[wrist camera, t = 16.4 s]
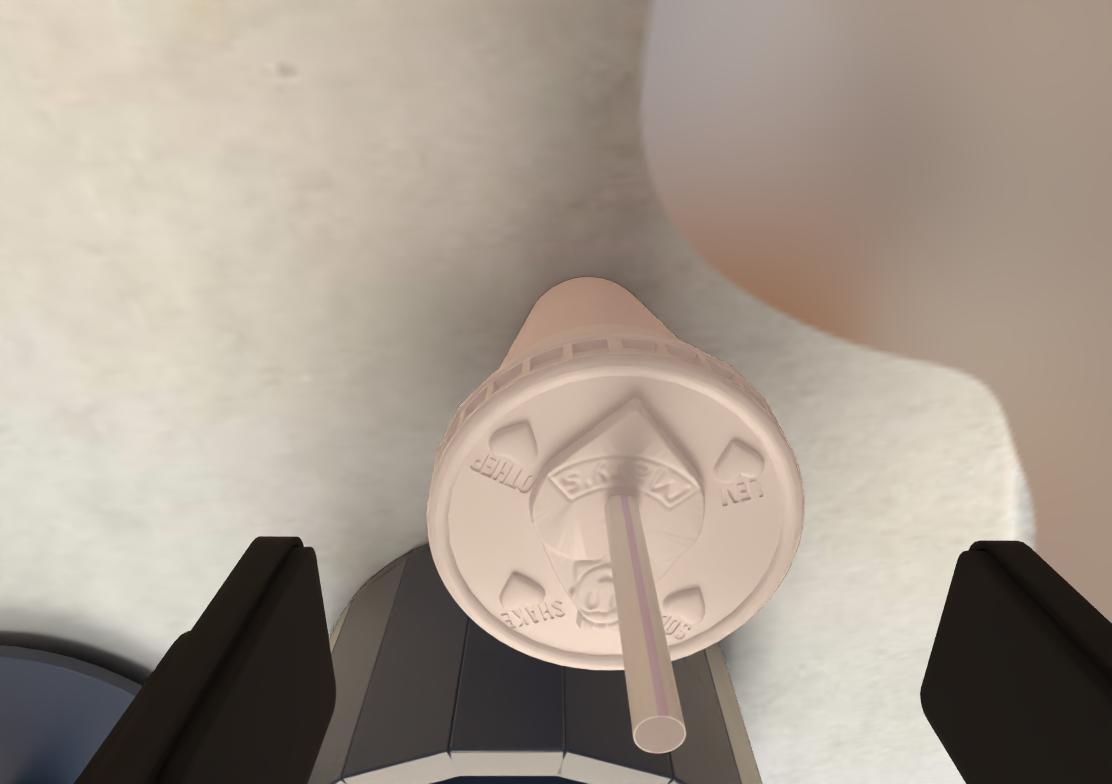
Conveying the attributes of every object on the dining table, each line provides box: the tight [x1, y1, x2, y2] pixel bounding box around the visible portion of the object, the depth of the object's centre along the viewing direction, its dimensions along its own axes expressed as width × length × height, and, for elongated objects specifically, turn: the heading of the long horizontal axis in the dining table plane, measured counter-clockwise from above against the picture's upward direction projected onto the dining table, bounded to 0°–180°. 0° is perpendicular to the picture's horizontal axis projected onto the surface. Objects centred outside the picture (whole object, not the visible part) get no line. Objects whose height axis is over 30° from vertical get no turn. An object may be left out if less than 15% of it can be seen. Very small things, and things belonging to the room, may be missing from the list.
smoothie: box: [427, 277, 804, 753], centre depth 14 cm, size 6×6×14 cm
